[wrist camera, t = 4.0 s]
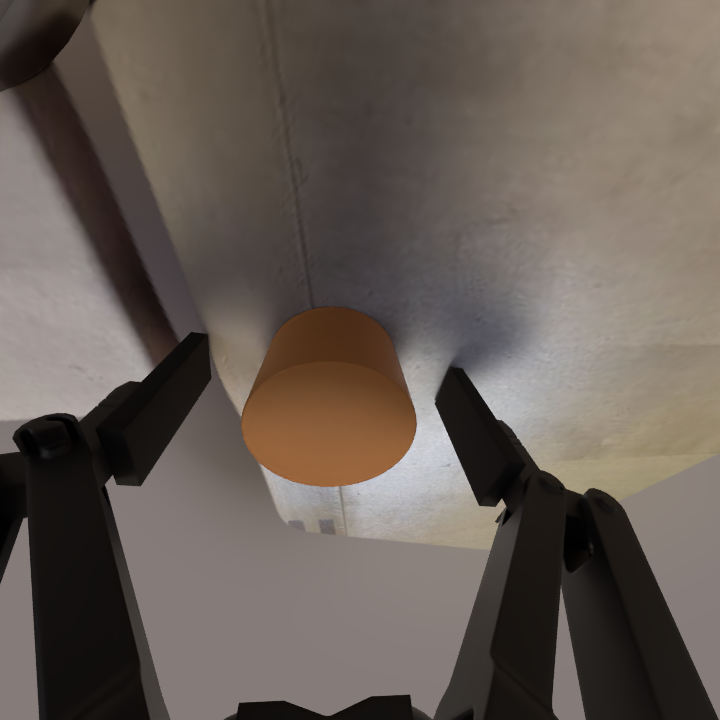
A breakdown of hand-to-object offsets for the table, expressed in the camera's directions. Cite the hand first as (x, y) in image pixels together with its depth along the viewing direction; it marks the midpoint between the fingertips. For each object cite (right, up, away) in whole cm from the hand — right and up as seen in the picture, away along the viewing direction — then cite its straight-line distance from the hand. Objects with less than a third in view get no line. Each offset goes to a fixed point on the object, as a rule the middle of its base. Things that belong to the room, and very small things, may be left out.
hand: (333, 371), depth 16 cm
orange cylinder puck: (0, 0, 0) cm, 0 cm away
